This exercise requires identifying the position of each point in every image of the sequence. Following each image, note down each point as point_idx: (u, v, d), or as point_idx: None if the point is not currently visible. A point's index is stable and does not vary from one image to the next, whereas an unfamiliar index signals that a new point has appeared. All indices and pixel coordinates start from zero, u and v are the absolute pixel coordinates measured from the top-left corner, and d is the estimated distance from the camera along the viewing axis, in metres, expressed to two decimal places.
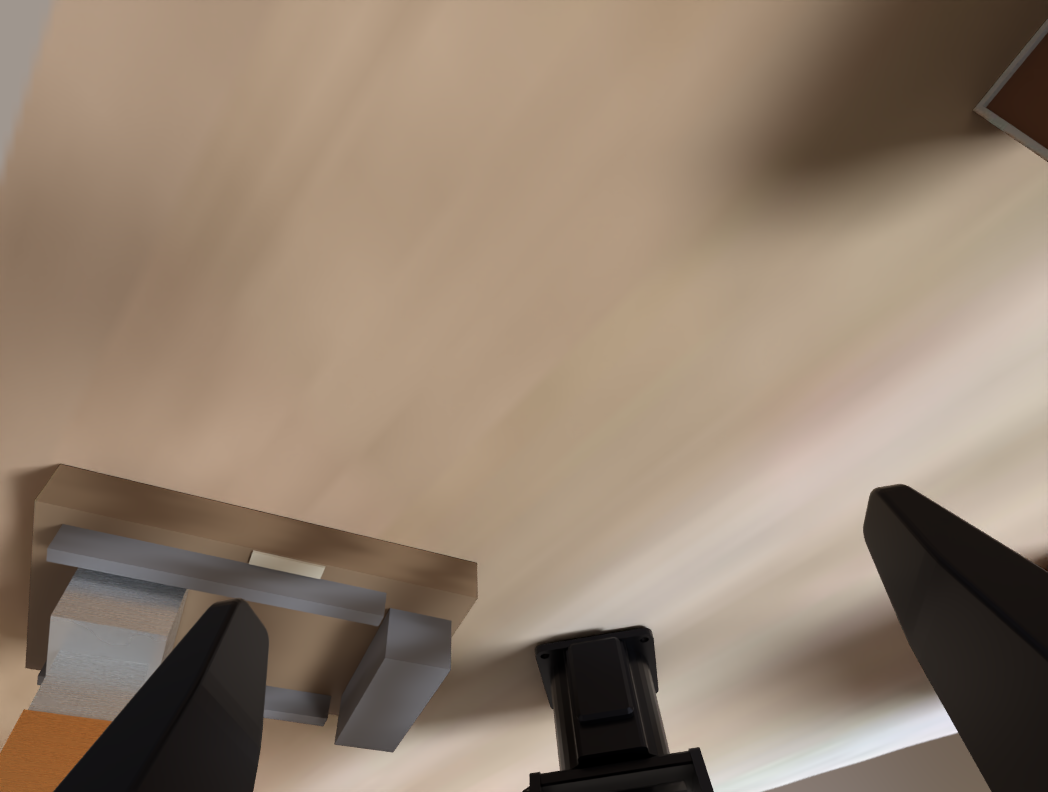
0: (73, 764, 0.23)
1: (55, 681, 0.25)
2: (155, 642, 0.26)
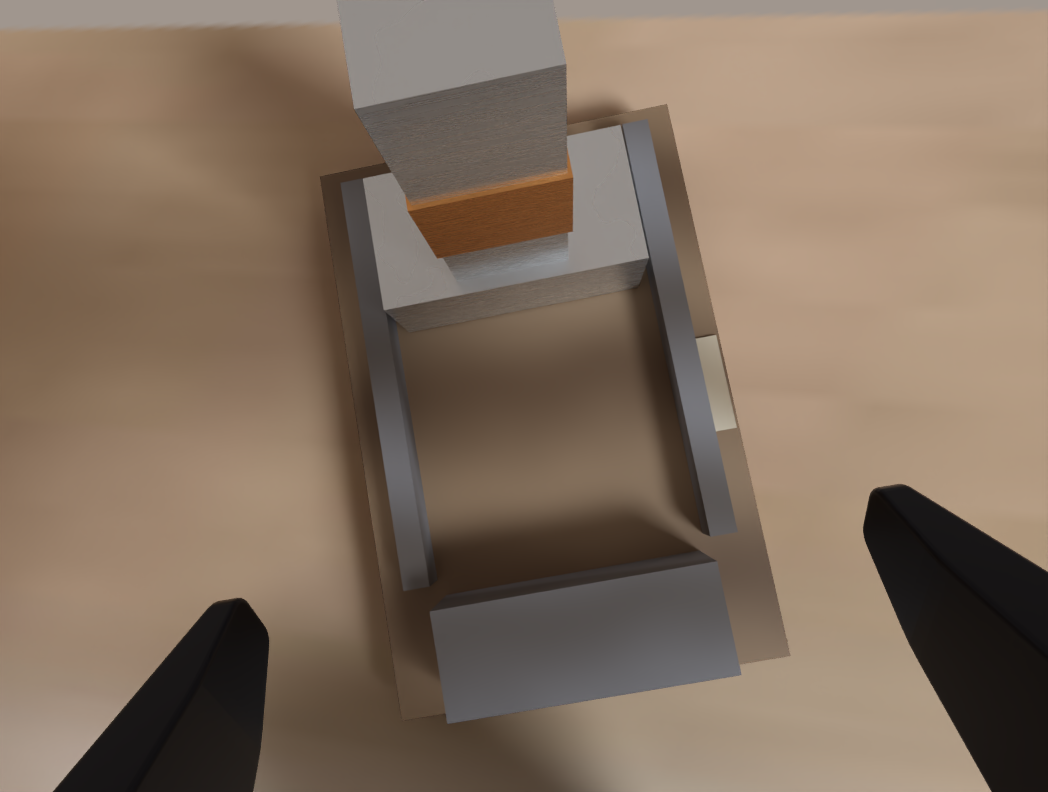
0: None
1: None
2: (624, 249, 0.19)
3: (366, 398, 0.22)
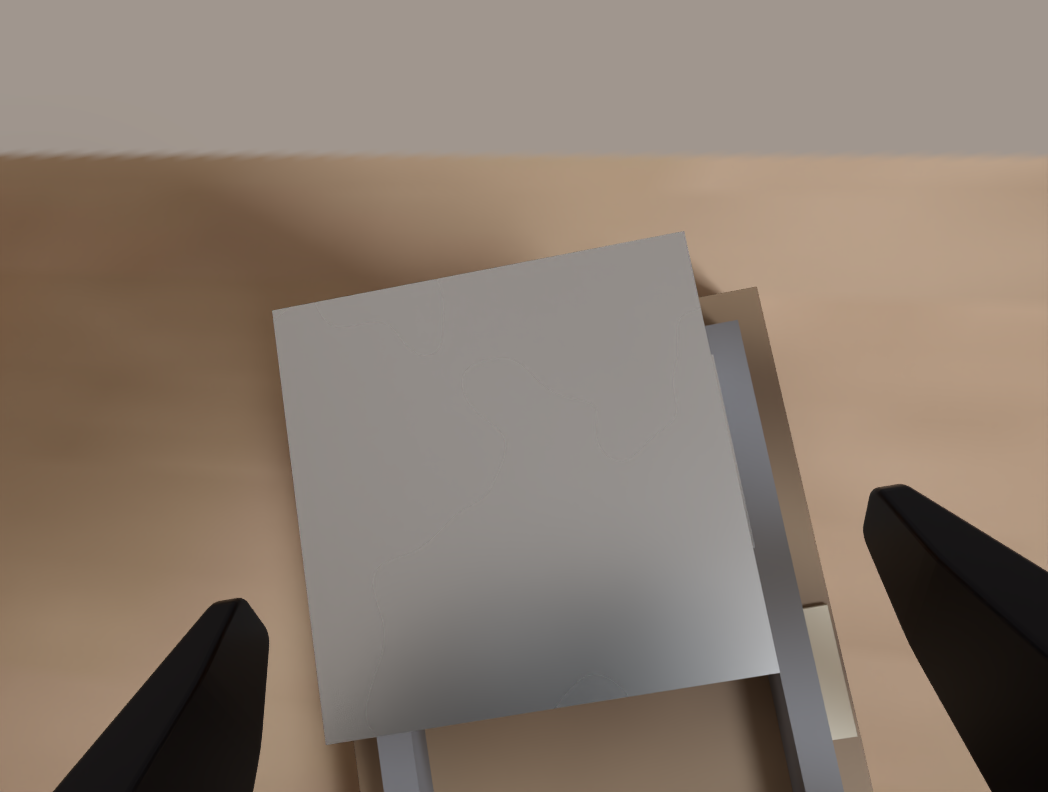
0: None
1: None
2: None
3: None
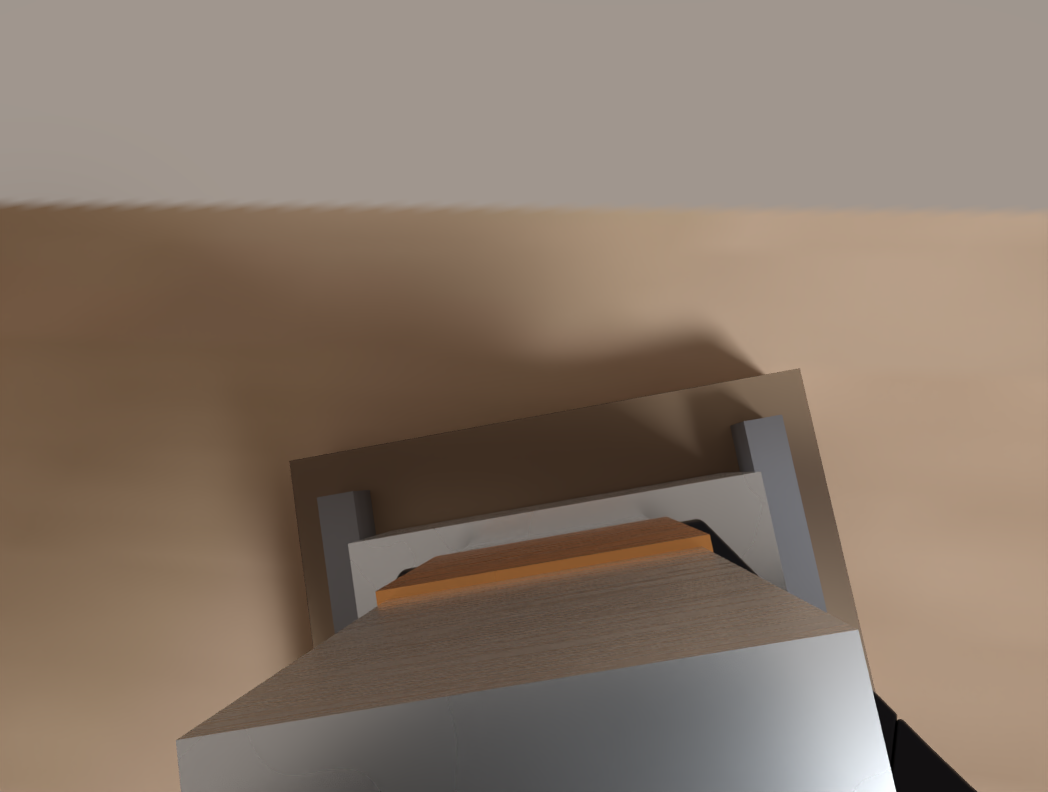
0: None
1: None
2: None
3: None
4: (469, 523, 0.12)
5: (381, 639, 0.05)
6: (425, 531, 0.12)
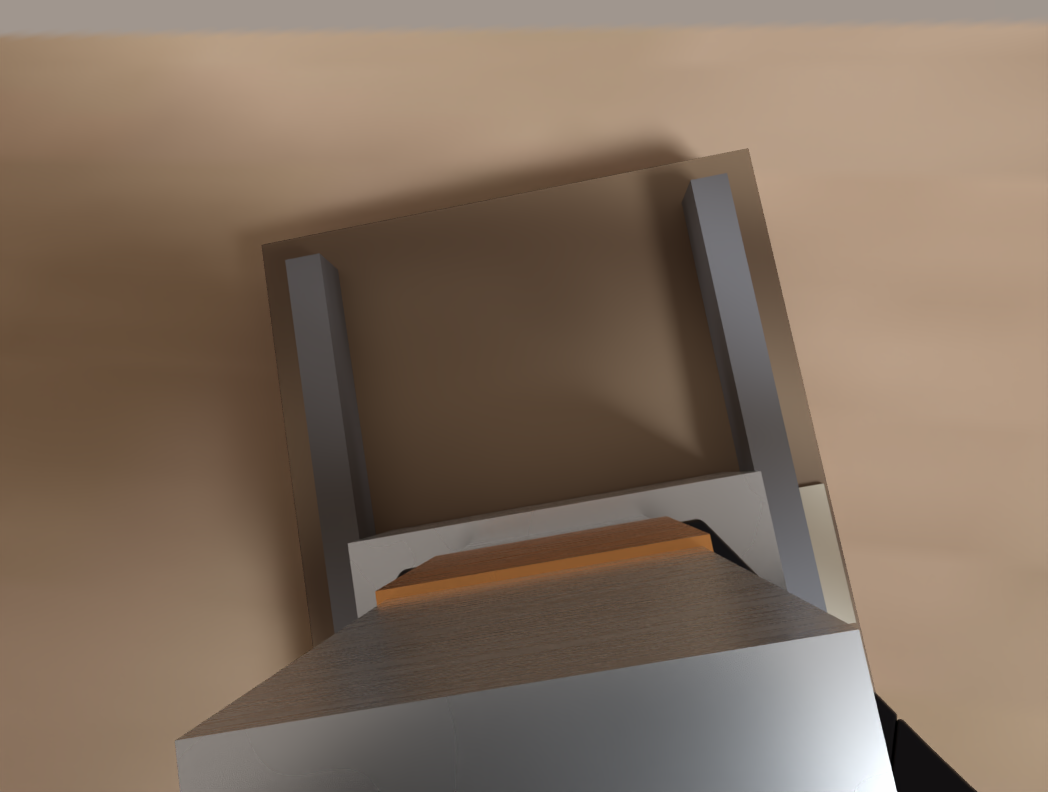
0: None
1: None
2: None
3: (321, 564, 0.15)
4: (469, 523, 0.12)
5: (381, 639, 0.05)
6: (425, 531, 0.12)
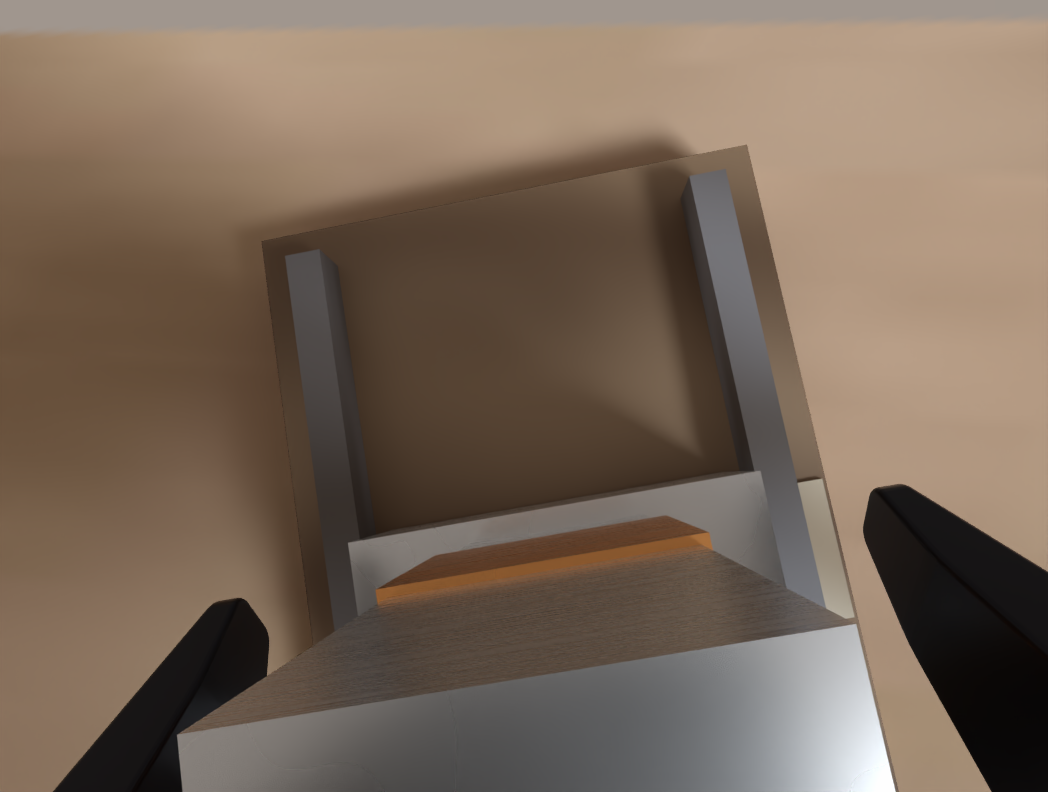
0: None
1: None
2: None
3: (320, 560, 0.15)
4: (469, 522, 0.12)
5: (381, 636, 0.05)
6: (425, 530, 0.12)
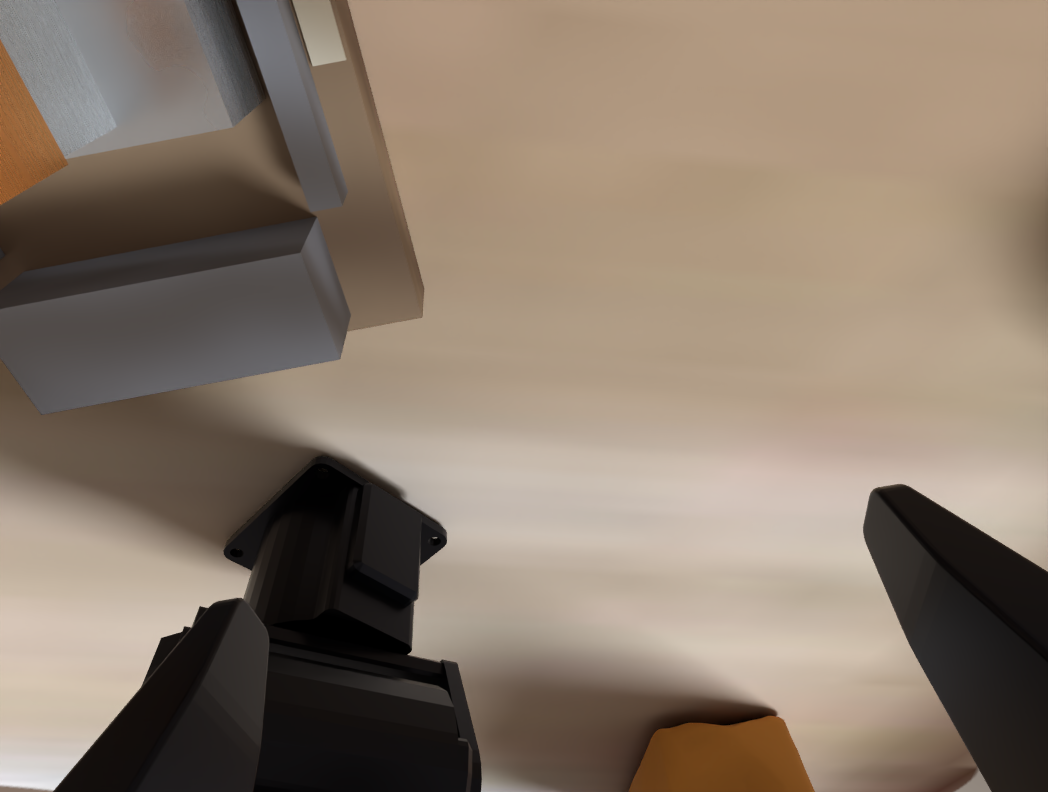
0: None
1: None
2: (195, 113, 0.13)
3: None
4: None
5: None
6: None
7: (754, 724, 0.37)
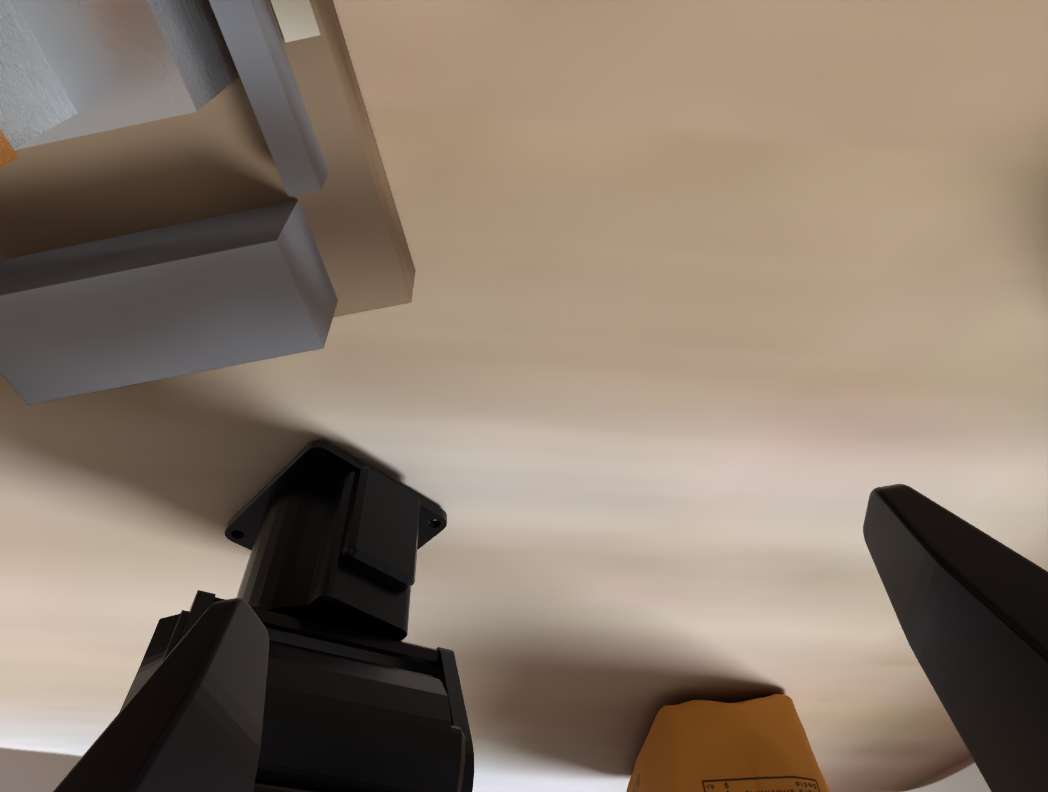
0: None
1: None
2: (157, 97, 0.13)
3: None
4: None
5: None
6: None
7: (760, 702, 0.37)
